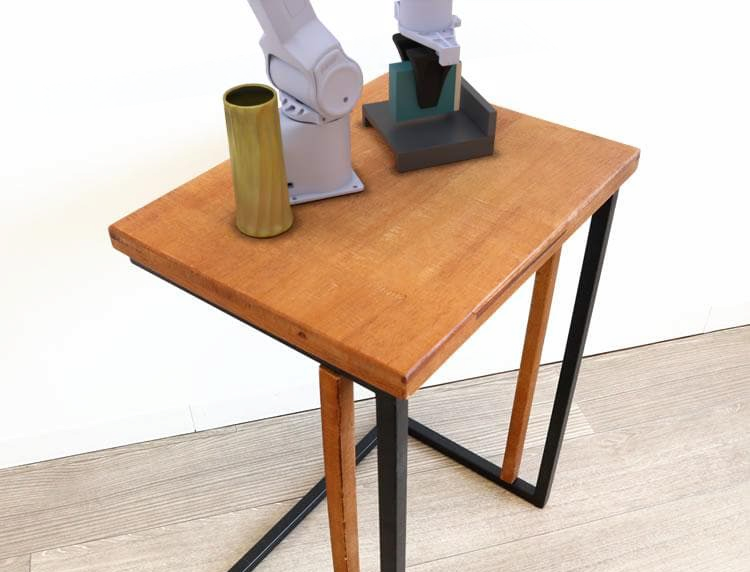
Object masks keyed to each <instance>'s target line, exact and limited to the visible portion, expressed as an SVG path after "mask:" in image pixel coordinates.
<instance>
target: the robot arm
mask: <svg viewBox="0 0 750 572" xmlns="http://www.w3.org/2000/svg"><path fill="white" fill-rule="evenodd" d="M246 1H247V3H248V5H249V7H250V9H251V10H252V13H253V14H254V16H255V18H256V20H257V22H258V24H259V26H260V28H261V29H262V32H263V33H262V35H261V36H260V38H259V41H258V45H259V47H260V49H261V50H262V52H263V55H264V64H265V65H264V67H265V74H266V77H267V79H268V81H269V83H270V84H271V85H272V86H273V87H274V89H277V90H278V100H279V102H281V103H280V104H281V106H280V107H278V109H279V116H280V126H281V135H282V145H283V154H284V162H285V171H286V178H287V185H288V193H289V200H290V206H292V205H293V206H294V205H298V204H303V203H307V202H313V201H317V200H323V199H327V198H332V197H338V196H342V195H347V194H353V193H358V192H362V191H364V190H365V185H364V183H363V182H362V181H361V179H360V178H359V176H358V175H357V173H356V172H355V170H354V168H353V167H352V142H351V114H352V113H353V112H354V111H353V110H354V108H355V107H356V105H357V104H358V101H360V98H361V96H362V93H363V89H364V74H363V70H362V67H361V65H359V63H358V62H357V61H356V60H355V59H353V58H352V57H350V56H349V55H348V54H347V53H346V52H345V50H344V49H343V46H342V44H341V42H340V41H339V39H338V38H337V37H336V36H335V35H334V34H333V33H332V32H331V31H330V30H329V28H328V27H326V26H325V24H324V23H323V22H322V21H321V20H320V18H318V16H317V14H316V11H315V10H314V7H313V5H312V3H311V1H310V0H246ZM393 5H394V7H393V9H394V12H393V13H394V15H393V17H394V19H395V20H396V21H397V31H398V32H396V33H394V34H392V35H391V39H392V42H393V44H394V46H395V48H396V50H397V52H398V55H399V58H400V62H404V61H410V62H411V65H412V68H413V71H414V76H415V82H416V93H417V100H418V104H419V107H420V108H421V109H426V108H432V107H437V105H438V102H439V99H440V95H441V92H442V88H443V85H444V82H445V79H446V77H447V75H448V73H449V71H450V69H451V67H452V65H453V64H459V60H461V59H460V56H461V45H460V44H459V43H458V40H457V39H456V32H455V31H456V30H455V28H459V27H461V26H462V19H461V18H460V17H459V16H458V15H456V14H453V0H395V1H394V4H393Z"/></svg>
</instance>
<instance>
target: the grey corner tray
mask: <svg viewBox="0 0 750 572" xmlns="http://www.w3.org/2000/svg"><path fill="white" fill-rule="evenodd" d="M361 116H362V117H361V118H362V119H361V120H362V122H361V123H362V124H363V126H364V127H370V126H372V127H373V129H374V130H375V131H376V133H377V134H378V135H379V136H380V138H381V139H382V141H383V142H384V143H385V144H386V146H387V147H388V148H389V150H390V151H391V152H392V153H393V155H394V157H395V169H396V171H397V172H398V173H399V174H400V173H406V172H411V171H416V170H420V169H425V168H430V167H435V166H442V165H446V164H451V163H456V162H461V161H468V160H471V159H477V158H482V157H487V156H492V155H494V151H495V141H496V129H497V119H498V110H497V109H496V108H495V107H494V106H493V105H492V104H491V103H489V101H488V100H487V99H486V98H485V97H484V96H483V95H481V93H480V92H479V91H478V90H477V89H476V88H475V87H474V86H473V85H471V83H470V82H469V81H468V80H467V79H466V78H464V77H463V76H462V75H461V87H460V103H459V110H458V111H454V112H449V113H443V114H438V115H432V116H427V117H421V118H415V119H410V120H404V121H399V122H396V121H395V120H394V119H393V117H392V116H391V115H390V114H389V99H387V100H380V101H376V102H369V103H364V104H363V103H362V104H361Z"/></svg>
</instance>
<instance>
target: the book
mask: <svg viewBox="0 0 750 572" xmlns="http://www.w3.org/2000/svg"><path fill="white" fill-rule="evenodd" d="M462 68H463V62H462V61H461V59H459V64H453V65H452V67H451V69H450V71H449V73H448V75H447V77H446V79H445V82H444V85H443V88H442V92H441V95H440V99H439V102H438V105H437V107H432V108H426V109H421V108H420V107H419V104H418V100H417V93H416V82H415V76H414V71H413V68H412V65H411V62H410V61H404V62H402V61H398V62H393V63H392V62H391V63H388V100H389V114H390V115H391V116H392V117H393V119H394V120H395V121H396V122H399V121H404V120H410V119H415V118H421V117H427V116H432V115H438V114H443V113H449V112H454V111H458V110H459V103H460V87H461V76H462V72H463V71H462V70H463V69H462Z"/></svg>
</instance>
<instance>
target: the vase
mask: <svg viewBox="0 0 750 572" xmlns="http://www.w3.org/2000/svg"><path fill="white" fill-rule="evenodd" d="M222 103H223V111H224V121H225V127H226V135H227V142H228V151H229V159H230V165H231V166H230V168H231V177H232V184H233V192H234V201H235V208H236V219H235V224H236V227H237V229H238V230H239V231H240V232H241V233H243V234H244V235H247V236H248V237H253V238H271V237H275V236H279V235H280V234H282V233H284V232H287V231H288V230H289V229H290V228H291V227H292V226H293V223H294V219H295V217H294V214H293V211H292V207H291V205H290V200H289V193H288V185H287V178H286V171H285V162H284V154H283V145H282V135H281V126H280V116H279V97H278V92H277V91H276V89H275V88H273V87H272V86H271V85H268V84H264V83H253V82H252V83H243V84H239V85H235V86H233V87H230V88H229V89H227V90H225V92H224V93H223V94H222Z"/></svg>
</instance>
